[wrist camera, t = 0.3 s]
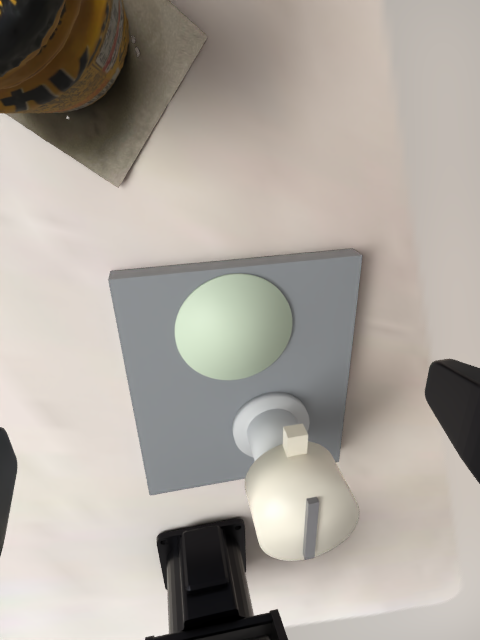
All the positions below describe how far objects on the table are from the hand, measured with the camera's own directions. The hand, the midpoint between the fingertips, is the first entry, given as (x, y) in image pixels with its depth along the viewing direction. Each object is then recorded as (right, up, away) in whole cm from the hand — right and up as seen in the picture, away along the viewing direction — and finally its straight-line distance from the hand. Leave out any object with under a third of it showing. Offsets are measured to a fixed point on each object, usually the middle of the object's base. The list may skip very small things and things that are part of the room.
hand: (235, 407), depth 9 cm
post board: (0, -2, +16) cm, 17 cm away
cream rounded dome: (+3, -7, +13) cm, 15 cm away
